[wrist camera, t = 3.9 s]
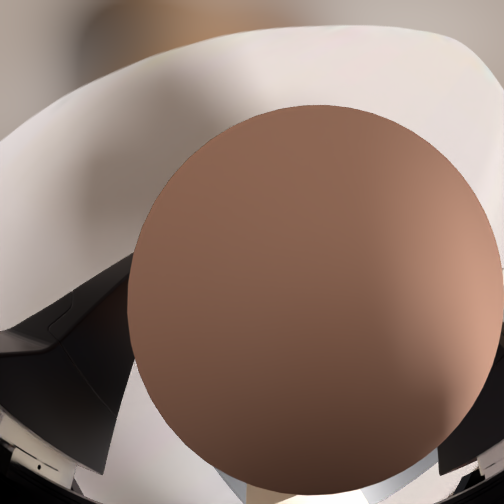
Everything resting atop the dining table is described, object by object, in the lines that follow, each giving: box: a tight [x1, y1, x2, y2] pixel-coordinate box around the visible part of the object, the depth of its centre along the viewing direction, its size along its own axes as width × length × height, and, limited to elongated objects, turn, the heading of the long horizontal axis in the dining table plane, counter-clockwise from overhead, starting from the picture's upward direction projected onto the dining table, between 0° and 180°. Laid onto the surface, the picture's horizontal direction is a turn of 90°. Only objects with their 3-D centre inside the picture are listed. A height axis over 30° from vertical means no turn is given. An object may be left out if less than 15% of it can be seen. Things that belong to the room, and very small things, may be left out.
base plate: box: [213, 268, 504, 504], centre depth 12 cm, size 12×23×6 cm, turn 118°
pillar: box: [127, 105, 504, 496], centre depth 9 cm, size 5×5×13 cm
